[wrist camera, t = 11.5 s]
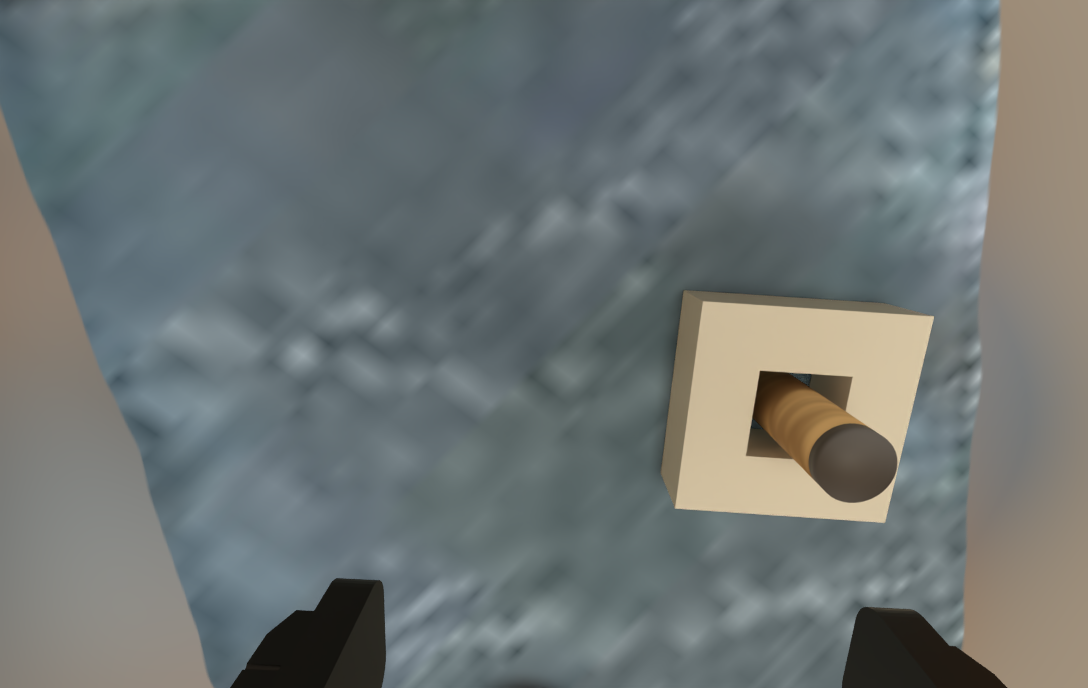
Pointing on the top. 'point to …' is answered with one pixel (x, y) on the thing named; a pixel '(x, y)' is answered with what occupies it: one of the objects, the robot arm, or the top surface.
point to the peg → (824, 438)
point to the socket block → (782, 346)
